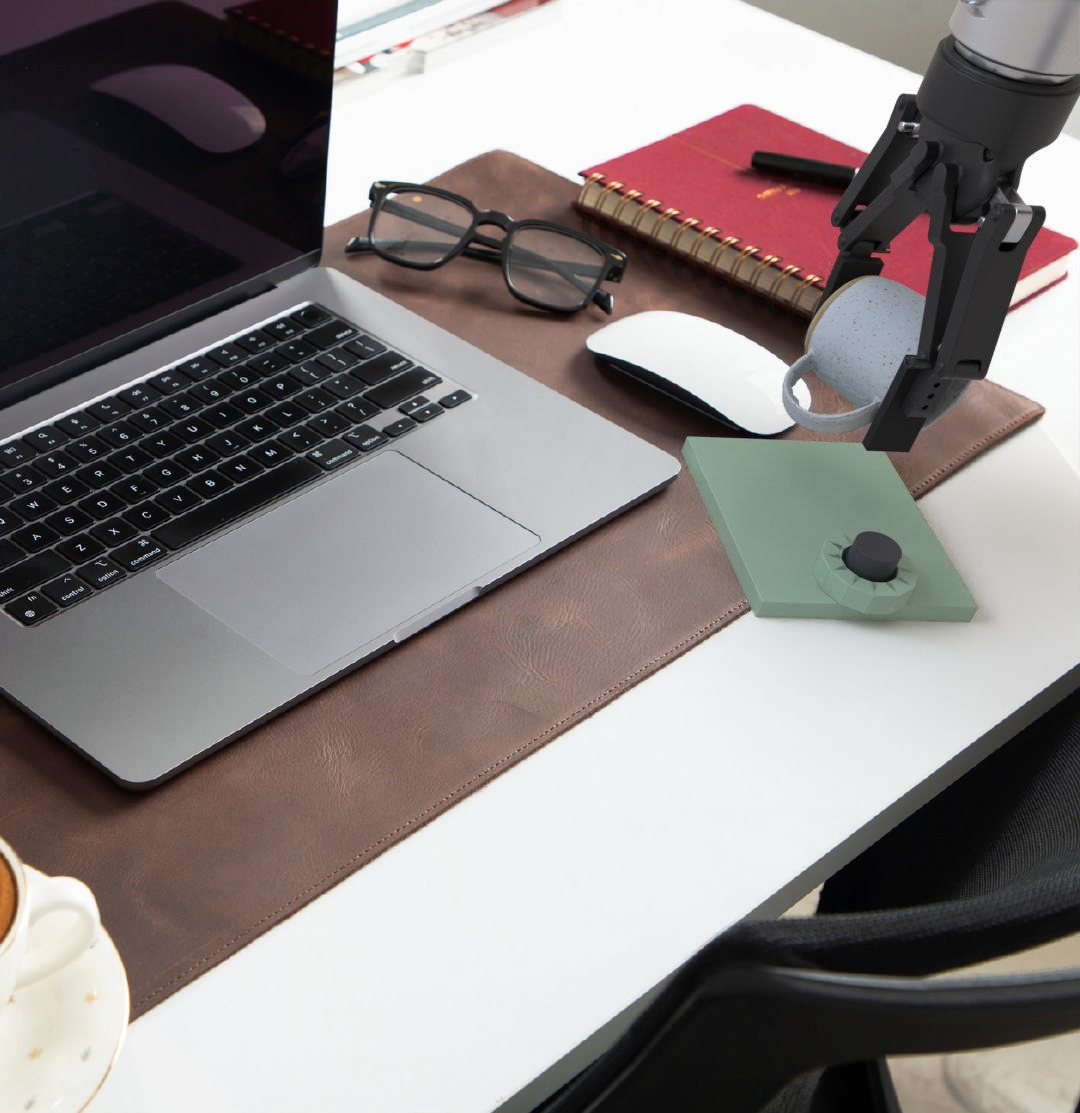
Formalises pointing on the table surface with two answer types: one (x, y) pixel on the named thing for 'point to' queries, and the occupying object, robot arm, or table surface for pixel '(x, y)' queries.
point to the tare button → (873, 556)
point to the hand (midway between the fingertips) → (853, 394)
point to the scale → (821, 530)
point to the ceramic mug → (862, 352)
